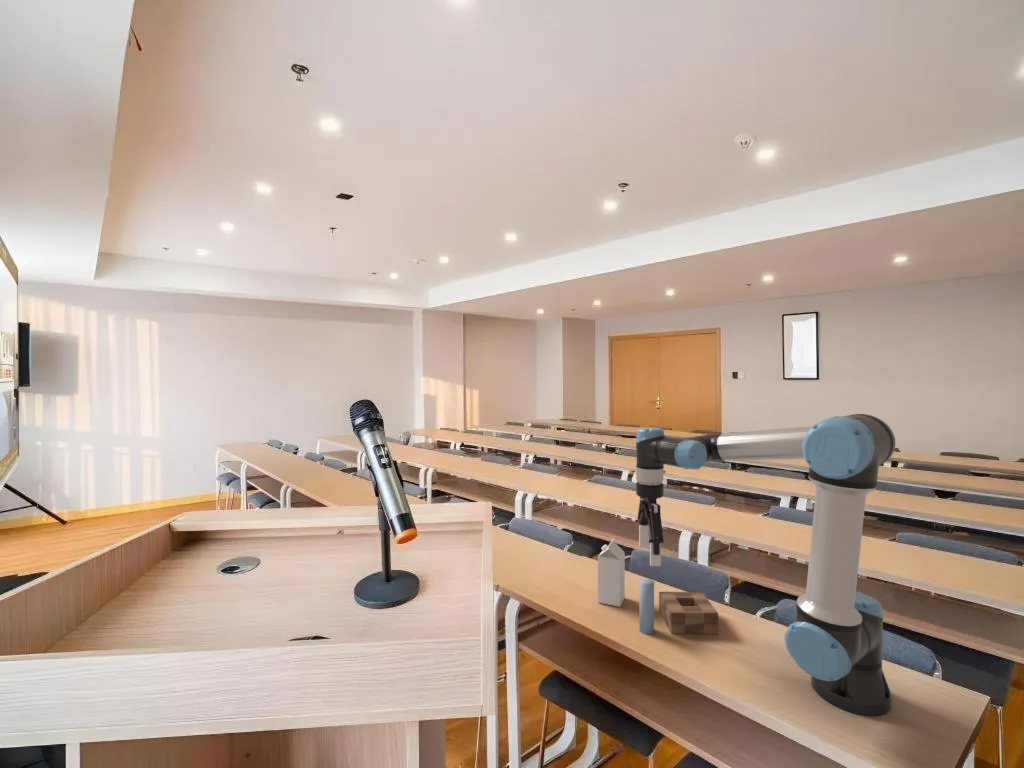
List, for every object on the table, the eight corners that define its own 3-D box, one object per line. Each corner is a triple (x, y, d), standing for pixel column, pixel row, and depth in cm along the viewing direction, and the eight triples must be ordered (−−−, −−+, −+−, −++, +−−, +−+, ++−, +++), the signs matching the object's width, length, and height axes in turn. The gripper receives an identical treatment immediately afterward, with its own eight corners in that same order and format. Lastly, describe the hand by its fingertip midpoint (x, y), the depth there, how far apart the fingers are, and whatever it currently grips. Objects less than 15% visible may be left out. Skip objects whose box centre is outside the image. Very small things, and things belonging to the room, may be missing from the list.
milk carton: (624, 597, 160) (624, 540, 160) (620, 607, 154) (620, 547, 153) (603, 593, 163) (603, 537, 163) (597, 603, 157) (597, 544, 156)
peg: (655, 634, 138) (655, 585, 138) (641, 634, 138) (641, 585, 138) (651, 626, 142) (652, 579, 142) (638, 626, 142) (638, 579, 142)
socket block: (718, 634, 138) (718, 613, 138) (671, 633, 138) (671, 612, 138) (701, 611, 151) (702, 592, 151) (659, 610, 151) (659, 591, 151)
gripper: (676, 493, 127) (675, 574, 128) (652, 472, 152) (652, 540, 153) (646, 493, 128) (646, 573, 128) (627, 472, 153) (627, 540, 153)
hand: (649, 555), depth 141 cm, fingers open, 13 cm apart
